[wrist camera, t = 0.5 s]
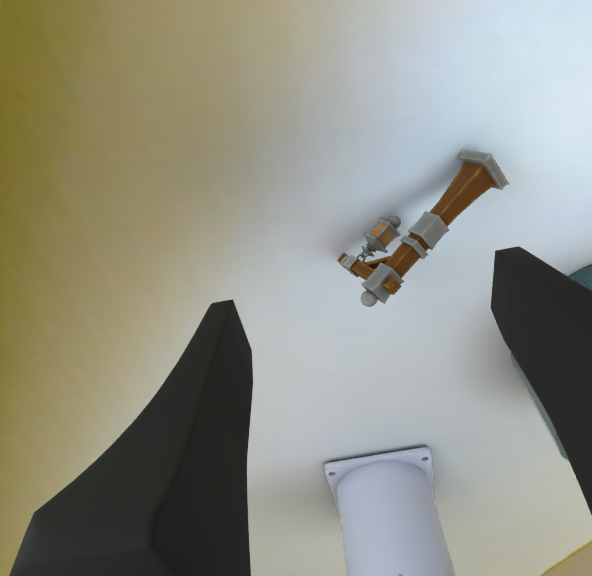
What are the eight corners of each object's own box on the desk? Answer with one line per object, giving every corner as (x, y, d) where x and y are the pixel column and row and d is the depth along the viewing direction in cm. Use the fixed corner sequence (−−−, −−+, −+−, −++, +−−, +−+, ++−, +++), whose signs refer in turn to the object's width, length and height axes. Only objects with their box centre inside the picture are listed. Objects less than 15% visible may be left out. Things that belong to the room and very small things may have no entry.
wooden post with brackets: (316, 265, 23) (360, 300, 19) (428, 144, 23) (494, 154, 19) (339, 286, 24) (385, 323, 20) (446, 170, 24) (513, 184, 20)
